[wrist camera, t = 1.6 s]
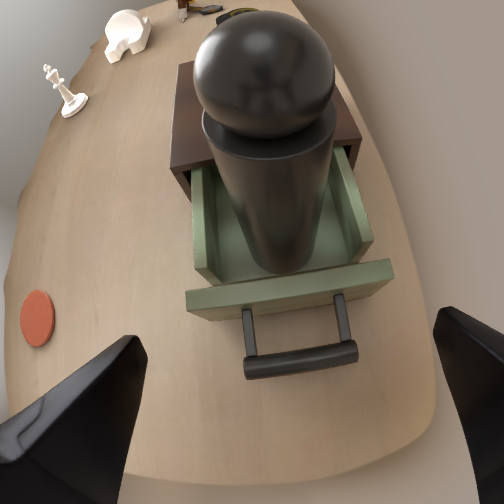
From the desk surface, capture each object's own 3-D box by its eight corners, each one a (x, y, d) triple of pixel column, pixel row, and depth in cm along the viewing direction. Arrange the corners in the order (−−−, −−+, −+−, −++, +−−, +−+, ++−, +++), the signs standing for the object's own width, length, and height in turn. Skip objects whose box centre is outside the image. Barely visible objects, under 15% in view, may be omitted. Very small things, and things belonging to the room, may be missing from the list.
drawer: (380, 352, 18) (409, 351, 13) (216, 378, 19) (193, 387, 14) (332, 156, 24) (338, 115, 19) (201, 177, 25) (182, 139, 20)
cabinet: (347, 191, 23) (362, 137, 17) (198, 214, 24) (169, 168, 18) (310, 93, 28) (311, 43, 21) (196, 111, 29) (178, 64, 22)
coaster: (56, 344, 22) (54, 344, 21) (24, 348, 22) (21, 348, 22) (53, 286, 24) (51, 285, 24) (22, 296, 24) (19, 295, 24)
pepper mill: (322, 264, 20) (383, 45, 4) (257, 281, 20) (169, 79, 5) (303, 207, 21) (307, -12, 6) (243, 223, 21) (168, 13, 6)
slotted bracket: (122, 36, 42) (109, 10, 35) (152, 25, 42) (140, -3, 34) (109, 64, 38) (92, 33, 30) (144, 50, 37) (129, 16, 30)
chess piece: (75, 96, 36) (47, 57, 26) (93, 94, 35) (64, 51, 25) (58, 118, 34) (27, 79, 25) (75, 117, 33) (41, 73, 24)
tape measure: (217, 31, 36) (212, 14, 33) (256, 21, 36) (253, 4, 33) (230, 45, 34) (225, 25, 30) (273, 34, 34) (270, 15, 30)
